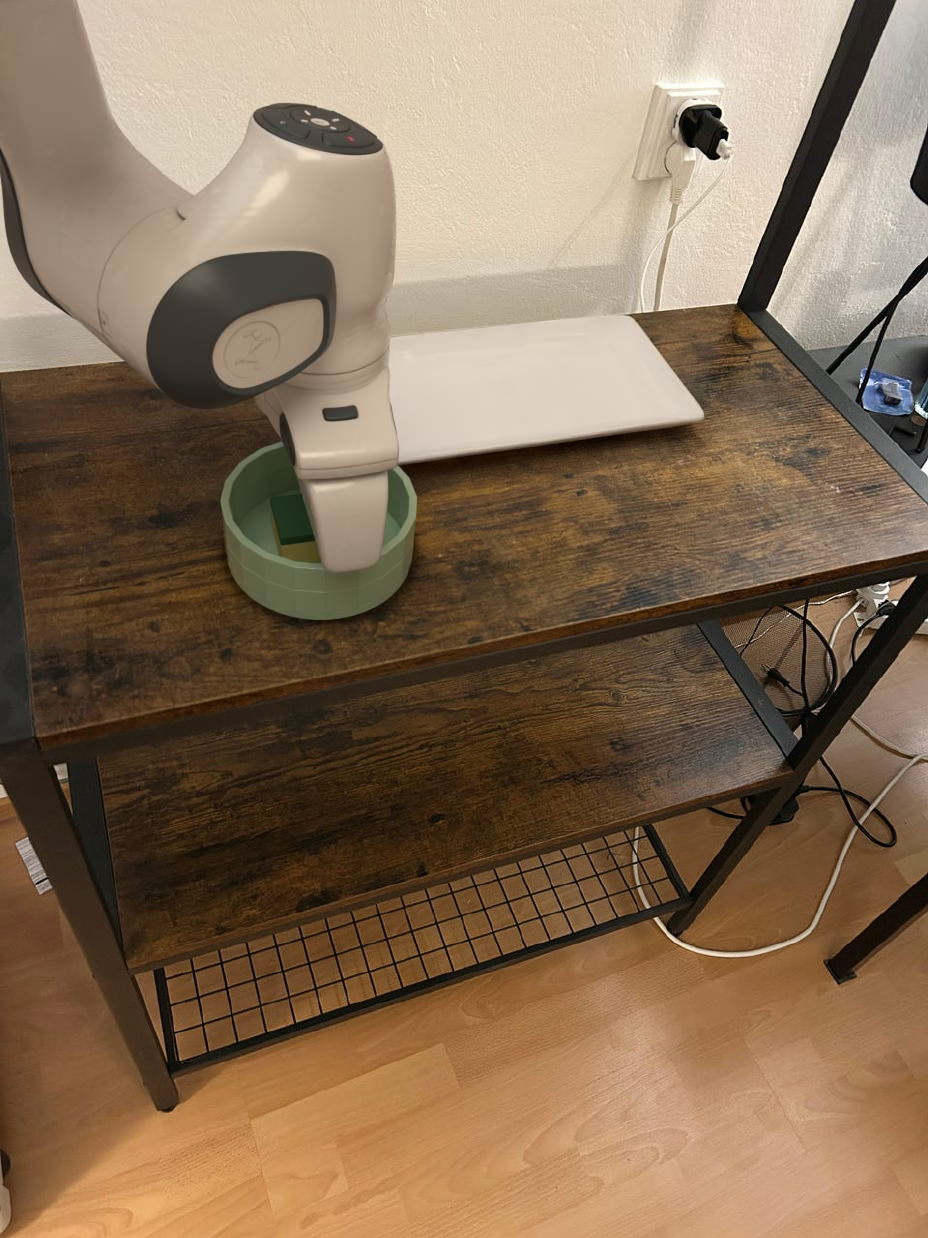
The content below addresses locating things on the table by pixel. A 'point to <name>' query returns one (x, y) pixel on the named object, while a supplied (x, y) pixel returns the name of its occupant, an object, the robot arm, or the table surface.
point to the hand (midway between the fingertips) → (321, 525)
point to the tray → (530, 387)
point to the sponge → (293, 529)
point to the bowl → (307, 583)
